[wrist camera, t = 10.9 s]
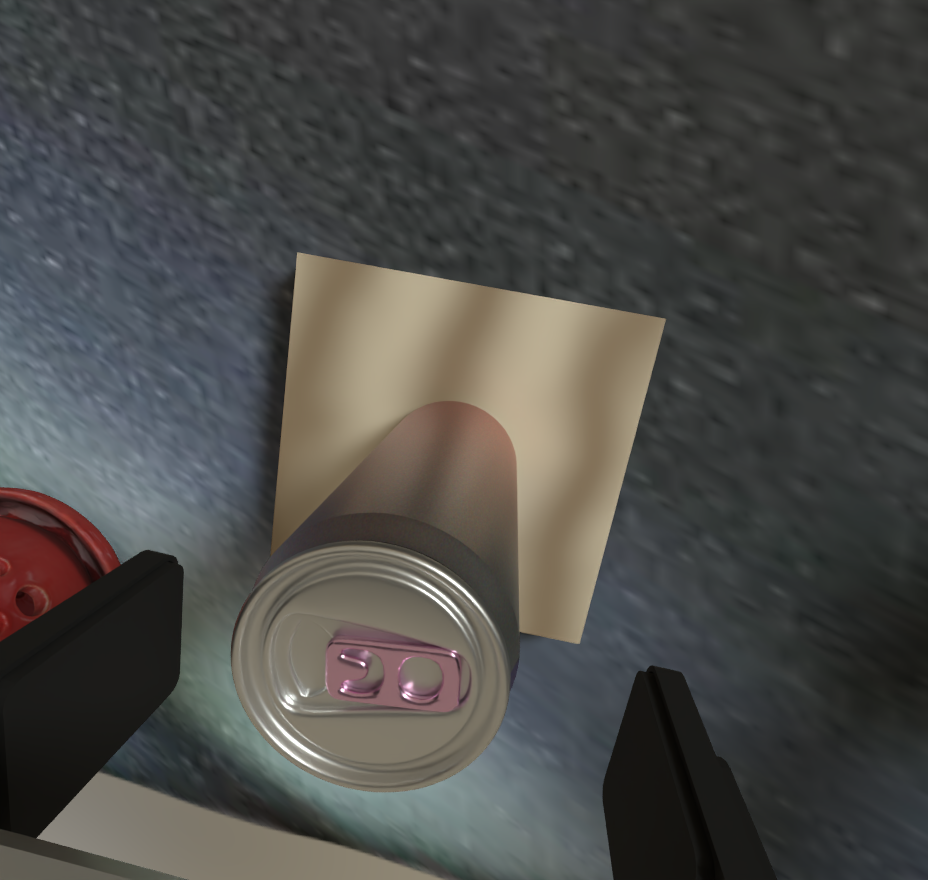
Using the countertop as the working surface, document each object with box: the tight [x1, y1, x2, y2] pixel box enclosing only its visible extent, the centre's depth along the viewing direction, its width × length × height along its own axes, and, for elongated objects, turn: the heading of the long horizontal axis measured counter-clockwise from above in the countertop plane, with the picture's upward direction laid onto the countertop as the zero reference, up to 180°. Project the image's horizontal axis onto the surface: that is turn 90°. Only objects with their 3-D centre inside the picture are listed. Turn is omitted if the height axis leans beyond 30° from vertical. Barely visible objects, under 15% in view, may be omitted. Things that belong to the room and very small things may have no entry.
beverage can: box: [231, 401, 520, 792], centre depth 18 cm, size 6×6×15 cm
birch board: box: [270, 253, 666, 644], centre depth 26 cm, size 16×16×2 cm
